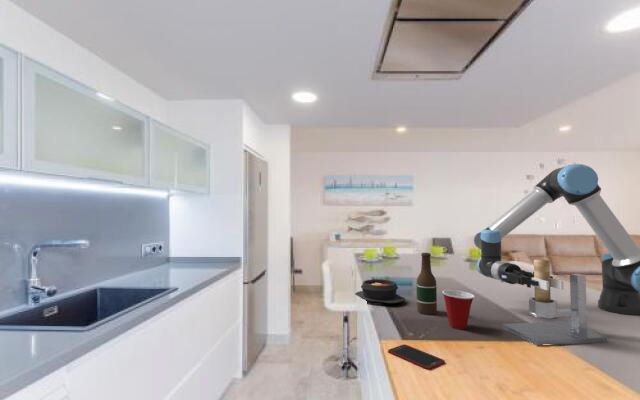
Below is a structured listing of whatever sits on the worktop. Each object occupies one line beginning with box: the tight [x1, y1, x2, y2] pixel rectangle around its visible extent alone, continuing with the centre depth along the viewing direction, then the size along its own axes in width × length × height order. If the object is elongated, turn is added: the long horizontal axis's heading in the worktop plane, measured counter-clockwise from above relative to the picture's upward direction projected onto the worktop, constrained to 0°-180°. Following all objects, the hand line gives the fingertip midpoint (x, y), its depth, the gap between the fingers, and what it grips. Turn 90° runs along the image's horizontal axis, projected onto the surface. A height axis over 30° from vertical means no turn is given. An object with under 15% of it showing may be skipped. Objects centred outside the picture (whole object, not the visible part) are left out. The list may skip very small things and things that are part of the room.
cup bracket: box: [502, 273, 608, 346], centre depth 115 cm, size 24×16×20 cm, turn 97°
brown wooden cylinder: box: [533, 259, 552, 303], centre depth 115 cm, size 4×4×16 cm
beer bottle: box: [416, 252, 438, 316], centre depth 141 cm, size 8×8×24 cm
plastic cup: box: [442, 289, 475, 330], centre depth 124 cm, size 11×11×12 cm
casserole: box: [354, 278, 406, 304], centre depth 160 cm, size 25×19×8 cm
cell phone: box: [387, 344, 446, 371], centre depth 98 cm, size 8×15×1 cm, turn 36°
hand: (554, 285), depth 109 cm, fingers closed on brown wooden cylinder, 4 cm apart
